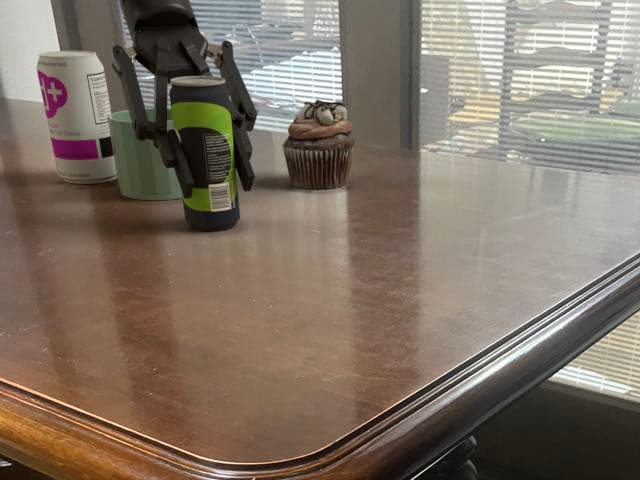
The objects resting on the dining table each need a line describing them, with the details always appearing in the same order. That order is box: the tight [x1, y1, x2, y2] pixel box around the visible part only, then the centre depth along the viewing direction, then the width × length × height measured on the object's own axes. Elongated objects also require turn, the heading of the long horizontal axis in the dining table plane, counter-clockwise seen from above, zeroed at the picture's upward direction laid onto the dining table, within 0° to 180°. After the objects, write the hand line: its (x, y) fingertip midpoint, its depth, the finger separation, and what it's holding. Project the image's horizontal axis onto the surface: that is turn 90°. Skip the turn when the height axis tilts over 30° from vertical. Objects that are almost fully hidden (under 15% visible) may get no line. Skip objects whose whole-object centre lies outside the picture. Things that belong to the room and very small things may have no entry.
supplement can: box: [36, 50, 118, 185], centre depth 116 cm, size 8×8×15 cm
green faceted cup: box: [107, 107, 183, 201], centre depth 112 cm, size 11×11×9 cm
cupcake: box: [281, 99, 356, 190], centre depth 116 cm, size 10×10×10 cm
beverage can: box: [168, 75, 241, 232], centre depth 97 cm, size 6×6×15 cm
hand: (219, 187), depth 96 cm, fingers closed on beverage can, 6 cm apart
